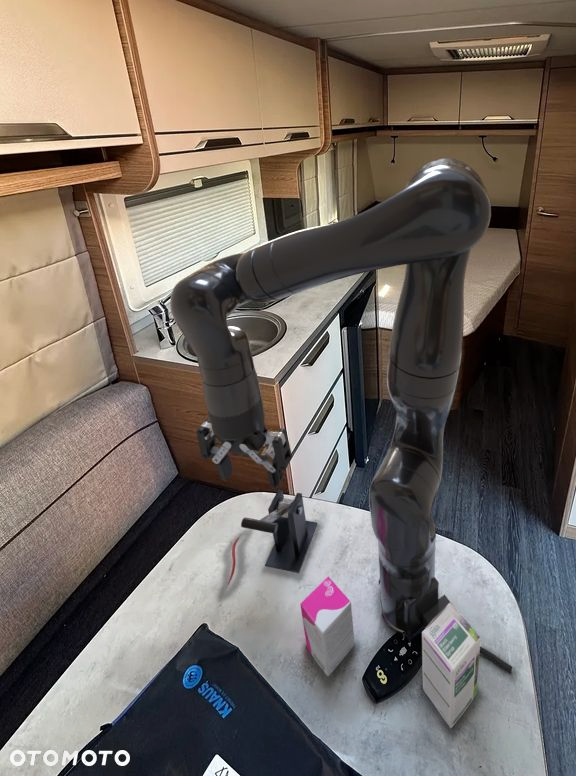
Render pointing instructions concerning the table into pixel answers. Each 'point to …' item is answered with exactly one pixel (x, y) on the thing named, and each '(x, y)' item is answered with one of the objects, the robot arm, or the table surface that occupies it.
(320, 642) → the supplement box
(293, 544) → the bracket
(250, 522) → the lever
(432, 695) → the syrup box
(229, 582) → the cayenne pepper
